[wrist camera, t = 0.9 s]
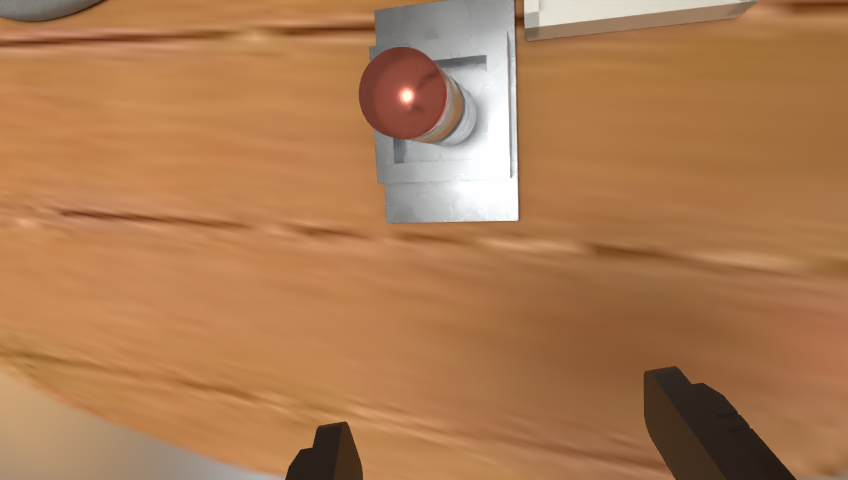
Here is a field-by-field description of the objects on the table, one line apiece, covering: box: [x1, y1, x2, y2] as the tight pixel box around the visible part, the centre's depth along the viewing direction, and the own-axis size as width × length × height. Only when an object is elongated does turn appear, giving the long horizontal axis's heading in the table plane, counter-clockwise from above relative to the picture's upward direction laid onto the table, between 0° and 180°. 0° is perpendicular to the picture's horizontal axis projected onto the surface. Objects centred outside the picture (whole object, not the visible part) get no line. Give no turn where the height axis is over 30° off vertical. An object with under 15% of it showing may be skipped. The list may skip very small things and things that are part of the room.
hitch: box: [369, 0, 519, 223], centre depth 31 cm, size 14×9×3 cm, turn 2°
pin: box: [359, 47, 477, 146], centre depth 27 cm, size 4×4×10 cm
